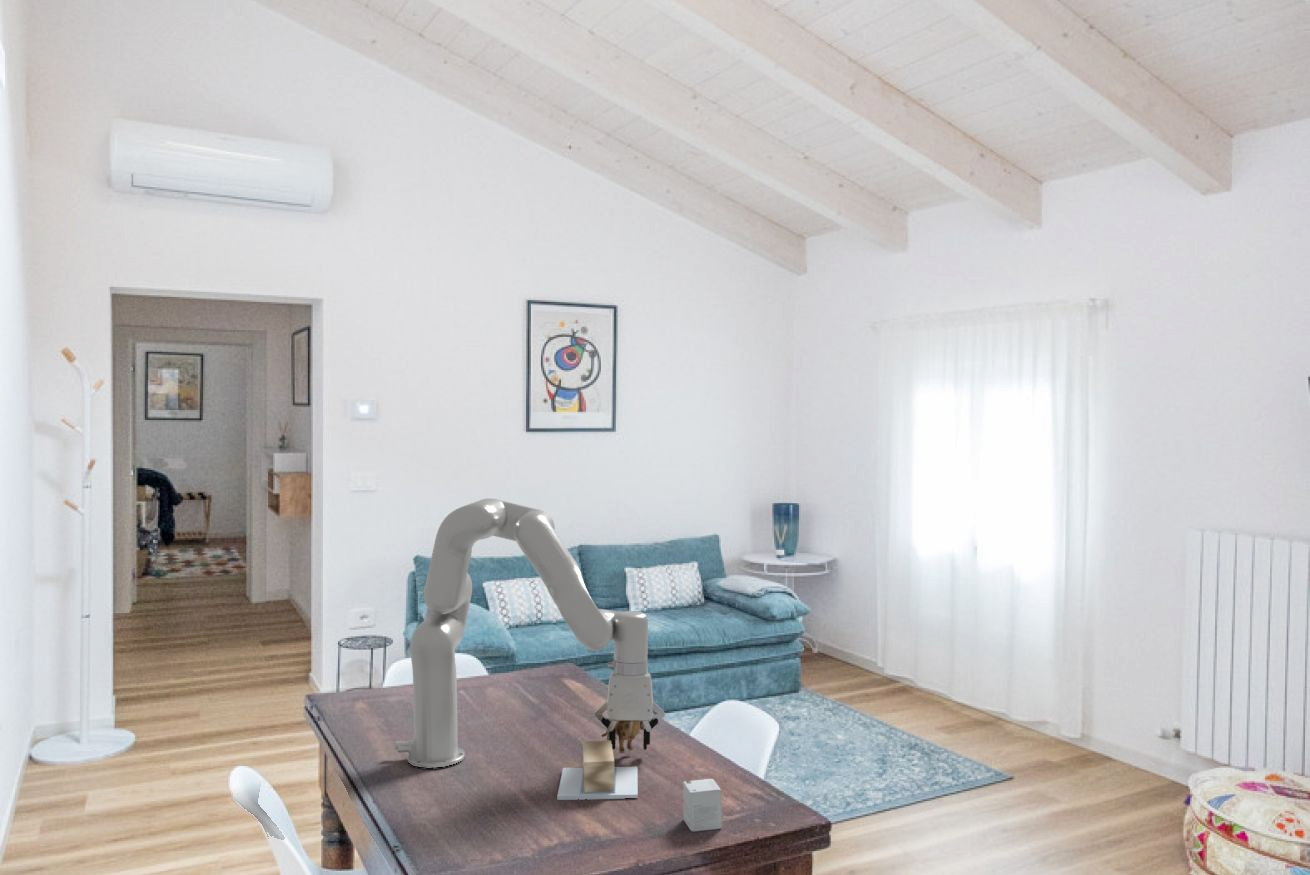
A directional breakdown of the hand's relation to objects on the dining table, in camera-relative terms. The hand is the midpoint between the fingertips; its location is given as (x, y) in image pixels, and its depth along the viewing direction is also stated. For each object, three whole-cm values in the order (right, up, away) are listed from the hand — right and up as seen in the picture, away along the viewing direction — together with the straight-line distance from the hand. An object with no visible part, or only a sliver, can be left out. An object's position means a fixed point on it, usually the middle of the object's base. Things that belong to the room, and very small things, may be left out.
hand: (629, 746), depth 221 cm
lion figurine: (-2, -1, +3) cm, 4 cm away
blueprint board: (-6, -3, -16) cm, 17 cm away
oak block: (-6, -2, -16) cm, 17 cm away
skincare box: (+15, -3, -37) cm, 40 cm away
